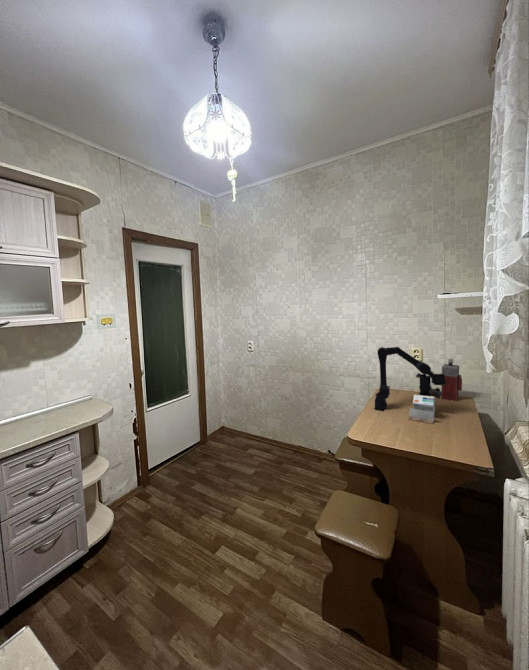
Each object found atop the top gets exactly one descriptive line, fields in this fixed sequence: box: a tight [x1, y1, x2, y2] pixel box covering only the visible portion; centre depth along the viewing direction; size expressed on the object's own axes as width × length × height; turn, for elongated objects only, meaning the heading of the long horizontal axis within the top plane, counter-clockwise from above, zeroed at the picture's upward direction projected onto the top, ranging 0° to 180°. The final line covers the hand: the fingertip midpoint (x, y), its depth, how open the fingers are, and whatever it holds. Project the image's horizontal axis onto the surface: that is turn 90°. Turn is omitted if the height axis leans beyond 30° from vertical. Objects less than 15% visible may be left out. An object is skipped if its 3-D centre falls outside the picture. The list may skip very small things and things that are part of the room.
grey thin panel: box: [408, 407, 435, 423], centre depth 159 cm, size 12×1×6 cm, turn 55°
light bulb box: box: [412, 394, 436, 416], centre depth 165 cm, size 11×7×11 cm
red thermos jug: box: [440, 358, 463, 402], centre depth 192 cm, size 9×11×28 cm
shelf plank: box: [408, 418, 435, 425], centre depth 157 cm, size 12×3×1 cm, turn 55°
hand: (425, 409), depth 171 cm, fingers closed, pressing on light bulb box
